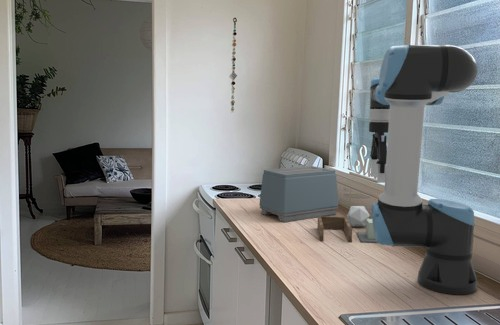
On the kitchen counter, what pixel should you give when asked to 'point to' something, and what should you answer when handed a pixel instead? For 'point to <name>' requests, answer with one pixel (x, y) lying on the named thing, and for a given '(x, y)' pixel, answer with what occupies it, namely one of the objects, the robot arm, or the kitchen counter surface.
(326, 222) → the brown u-shaped bracket
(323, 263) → the kitchen counter surface
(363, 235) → the mat
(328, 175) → the toaster
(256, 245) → the kitchen counter surface
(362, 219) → the die
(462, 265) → the robot arm
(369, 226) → the block
